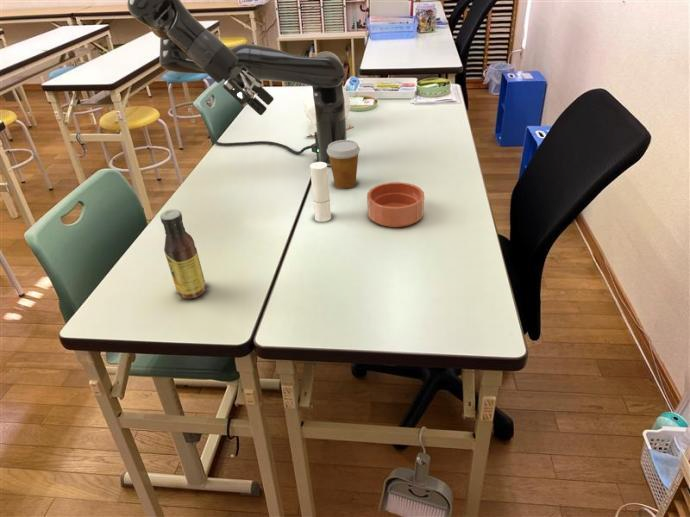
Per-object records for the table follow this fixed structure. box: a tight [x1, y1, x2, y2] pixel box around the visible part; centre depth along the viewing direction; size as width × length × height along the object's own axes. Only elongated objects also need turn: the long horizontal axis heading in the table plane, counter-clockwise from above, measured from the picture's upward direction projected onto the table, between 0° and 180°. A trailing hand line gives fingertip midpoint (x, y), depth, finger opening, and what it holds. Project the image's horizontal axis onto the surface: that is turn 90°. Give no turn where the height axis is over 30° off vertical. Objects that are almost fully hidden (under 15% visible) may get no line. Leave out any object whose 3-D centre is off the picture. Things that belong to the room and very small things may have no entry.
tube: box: [309, 161, 332, 223], centre depth 134 cm, size 4×4×15 cm
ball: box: [303, 86, 354, 138], centre depth 186 cm, size 17×25×24 cm
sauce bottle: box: [159, 208, 206, 300], centre depth 108 cm, size 6×6×20 cm
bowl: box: [366, 181, 425, 228], centre depth 135 cm, size 15×15×6 cm
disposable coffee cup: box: [327, 139, 361, 189], centre depth 151 cm, size 10×10×12 cm
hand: (267, 107), depth 122 cm, fingers open, 8 cm apart
